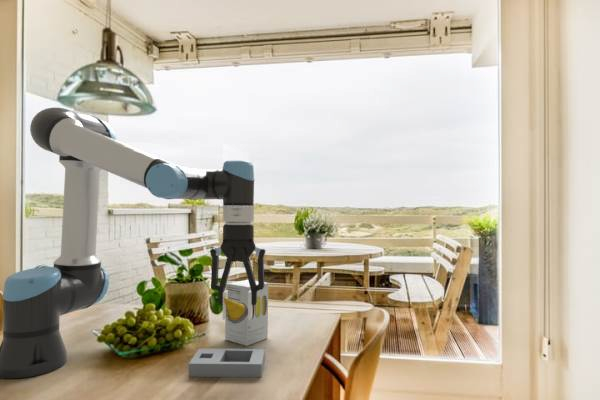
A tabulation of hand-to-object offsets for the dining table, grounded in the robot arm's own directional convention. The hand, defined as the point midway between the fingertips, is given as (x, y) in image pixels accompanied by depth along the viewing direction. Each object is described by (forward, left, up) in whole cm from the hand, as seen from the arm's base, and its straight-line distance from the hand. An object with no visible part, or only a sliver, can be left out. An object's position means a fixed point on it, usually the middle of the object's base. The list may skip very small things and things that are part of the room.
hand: (237, 317), depth 101 cm
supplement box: (-1, +22, -13) cm, 25 cm away
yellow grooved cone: (0, 0, -2) cm, 2 cm away
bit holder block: (-2, 0, -12) cm, 13 cm away
